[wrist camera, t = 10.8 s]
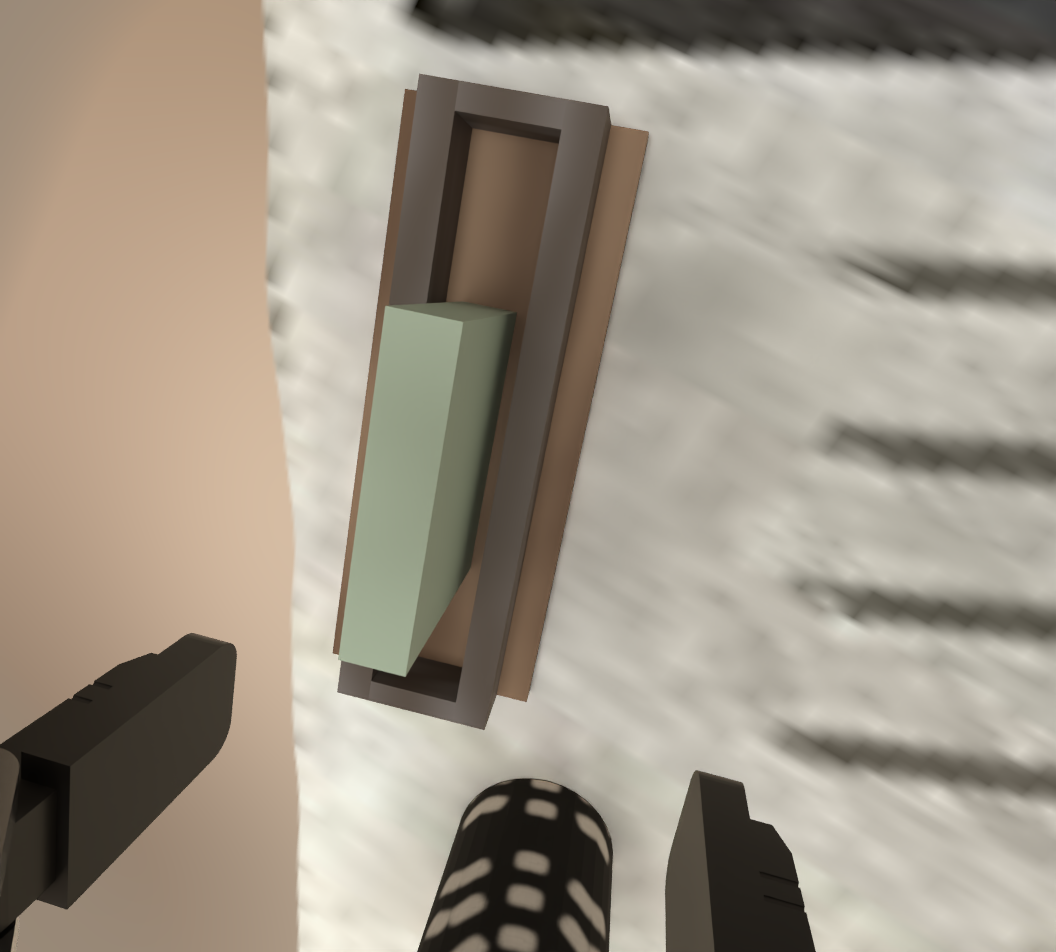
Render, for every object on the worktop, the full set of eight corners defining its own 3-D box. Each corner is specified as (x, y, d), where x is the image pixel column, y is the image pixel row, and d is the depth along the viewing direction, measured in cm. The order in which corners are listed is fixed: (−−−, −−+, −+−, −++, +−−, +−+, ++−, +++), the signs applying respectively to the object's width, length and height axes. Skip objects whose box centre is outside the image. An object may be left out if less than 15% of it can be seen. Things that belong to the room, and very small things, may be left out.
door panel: (517, 312, 31) (463, 322, 21) (470, 568, 34) (405, 676, 25) (462, 301, 31) (385, 306, 22) (421, 557, 34) (338, 659, 25)
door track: (648, 136, 29) (650, 113, 26) (529, 691, 36) (516, 738, 33) (412, 95, 30) (380, 66, 26) (340, 644, 37) (306, 684, 33)
